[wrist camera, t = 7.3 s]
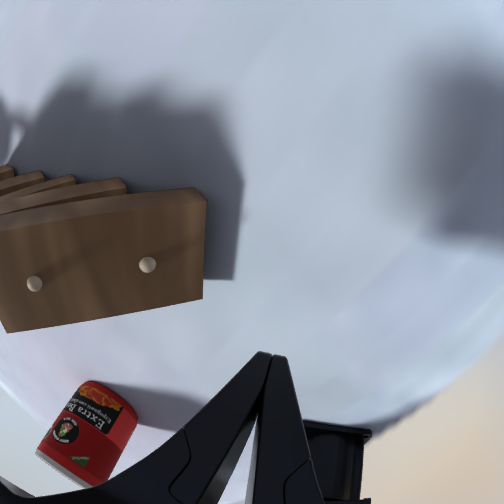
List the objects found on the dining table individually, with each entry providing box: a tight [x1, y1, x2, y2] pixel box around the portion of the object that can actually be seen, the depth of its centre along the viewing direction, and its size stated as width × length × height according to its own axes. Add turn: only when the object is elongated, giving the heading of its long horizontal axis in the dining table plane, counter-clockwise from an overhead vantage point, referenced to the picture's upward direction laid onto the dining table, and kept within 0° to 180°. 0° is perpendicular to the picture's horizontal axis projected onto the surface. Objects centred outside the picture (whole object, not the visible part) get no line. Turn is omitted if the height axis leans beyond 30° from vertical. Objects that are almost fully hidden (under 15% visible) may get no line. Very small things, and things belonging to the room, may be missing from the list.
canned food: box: [35, 381, 138, 489], centre depth 23 cm, size 8×8×11 cm
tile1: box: [0, 188, 207, 333], centre depth 11 cm, size 2×5×10 cm
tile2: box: [0, 177, 127, 215], centre depth 11 cm, size 2×5×10 cm
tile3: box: [0, 174, 76, 202], centre depth 12 cm, size 2×5×10 cm
